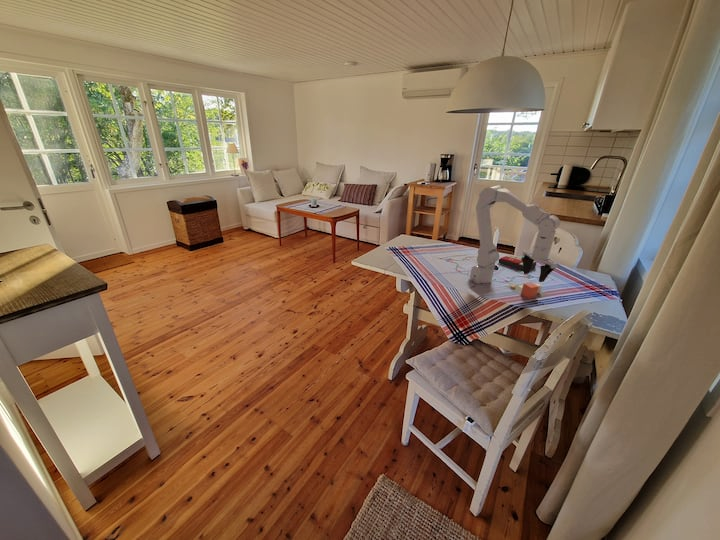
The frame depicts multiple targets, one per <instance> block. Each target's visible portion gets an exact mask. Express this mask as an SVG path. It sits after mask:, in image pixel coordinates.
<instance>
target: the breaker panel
mask: <svg viewBox="0 0 720 540" xmlns="http://www.w3.org/2000/svg"><path fill="white" fill-rule="evenodd" d="M523 284H524V283H520V284H514V285H512V284H511V285H507V286H505V287H506V288H508V289H509V290H511V291H513V292H514V293H515V294H517V295H519V296H522V297H523V298H524V299H526V300H530V299H531V300H532V299H538V298H542V297H547V296H550V295H549V294H548V293H546V292H544V291H542V290H541V291H540V292H539V293H537V294H536V297H533V298H527V297H525V296H523V295H522V294H521V291H522V288H523Z"/></svg>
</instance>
